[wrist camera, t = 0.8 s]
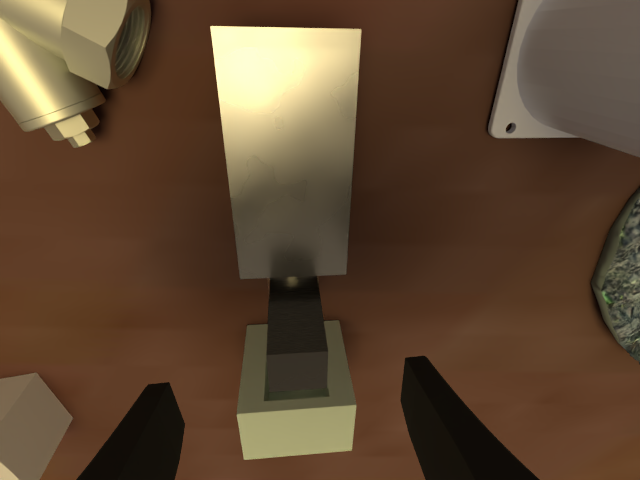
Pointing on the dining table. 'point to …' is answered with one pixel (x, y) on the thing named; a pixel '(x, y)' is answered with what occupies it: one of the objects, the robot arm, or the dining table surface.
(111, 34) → the pipe fitting
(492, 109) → the robot arm
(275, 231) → the grey boxy piece
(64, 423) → the cream white cube
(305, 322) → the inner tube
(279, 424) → the socket block
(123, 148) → the dining table surface
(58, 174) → the dining table surface
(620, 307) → the tree stump
